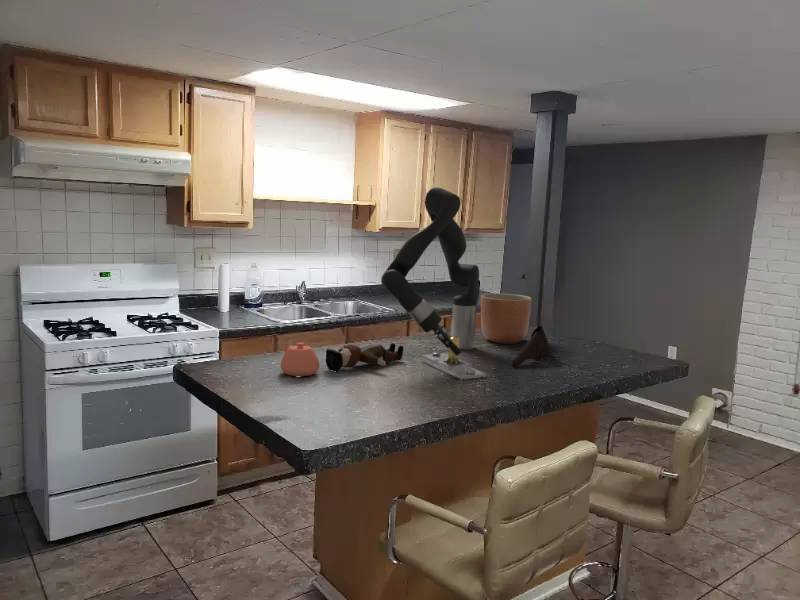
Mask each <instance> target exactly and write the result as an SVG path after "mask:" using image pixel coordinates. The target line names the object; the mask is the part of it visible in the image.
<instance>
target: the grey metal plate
mask: <svg viewBox="0 0 800 600" xmlns="http://www.w3.org/2000/svg"><path fill="white" fill-rule="evenodd" d="M421 363H423V364H426V365H427V366H431V367H432V368H435V369H437V370H439V371H441V372H444V373H446V374H448V375H450V376H452V377H454V378H456V377H457V379H459V380H461V381H463V379H464V380H471V379H472V378H473V379H480V378H481V377H483V378H486V377H487V373H485V372H484V371H480V370H478V369H476V368H474V367H473V364H472V363H470V362H468V361H465V360H463V359H460V358H459V363H458V364H452V365H450V364H447V352H443V353H441V352H438V351H433V352H432V353H429V354H422V355H421Z"/></svg>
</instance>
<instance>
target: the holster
mask: <svg viewBox="0 0 800 600" xmlns="http://www.w3.org/2000/svg"><path fill="white" fill-rule="evenodd" d="M550 356H551V357H552V356H553V351H552V348H551V345H550V342H549V341H548V338H547V336H546V333H545V330H544V327H543V326H542V325H539V326H537V327H536V328H535V329H534V330H533V331H532V333H531V335H530V339H529V340H528V341H527V343H525V344H524V345H523V346H522V348H521V349H520V350H519V351H518V353H517V354H516V357H514V359H513V360H512V362H511V365H512V367H513V368H515V367H517V368H518V367H519V366H520V365H521V364H522V363H524V362H525V361H527V360H535V361H540V360H542V359H543V358H544V357H549V358H551V357H550ZM542 357H543V358H542ZM537 359H538V360H537Z"/></svg>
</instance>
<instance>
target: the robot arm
mask: <svg viewBox="0 0 800 600" xmlns="http://www.w3.org/2000/svg"><path fill="white" fill-rule="evenodd" d="M424 198H425V199H424V206H425V210H426V212H427V214H428V216H429V218H430V219H431V221H432V222H431V223H430V224H429V225H427V226H426V227H424V228H423V229H421V230H419V231H418V232H416V233H414V234H412V235H411V236H410V237H409V238H407V240H406V241H405V242H404V243H403V245H402V246H401V248H400V249H399V251H398V253H397V255H396V256H395V258H394V260H393V261H392V262H391V263H390V264H389V266H388V267H387V268H386V270H385V271H384V273H383V274H382V276H381V278H380V283H381V285H382V287H383V288H384V289H385V290H387V291H388V292H389V293H391V294H392V295H393V297H394V298H395V299H396V300H398V303H399V305H401V307H402V308H403V309H404V310H405V311H406V312H407V313H408V314H409V316H410V317H411V319H412V320H413V321H414V322H415V323H416V324H417V325H418V326H419V327H420V328H421V330H423V331H424V333H426V334H428V333H430V332H431V331H433V332H434V333H433V335H434V337H435V338H436V339H438V340H439V341H440V343H442V344H443V345H444V346H445V348H446V349H447V348H450V349H451V350H452V351H453V353H454V354H455V355H456V356H458V355H459V356H460V354H461V353H462V350H473V349H475V339H476V320H477V318H476V317H477V300H478V291H479V290H478V289H479V282H480V281H479V280H480V269H479V267H478V265H477V264H473V263H471V264H470V263H469V264H468V263H460V262H459V261H460V259H461V258H462V257H463V256H464V254H465V252H466V249H467V241H466V238H465V234H464V231H463V230H462V228H461V227H460V226H459V224H458V223H457V222H456V221H455V219H454V218H455V217H456V215H457V214H458V213H459V211H460V208H461V198H460V197H459V196H458V195H457V194H455V193H453V192H451V191H449V190H446V189H444V188H442V187H437V186H436V187H431V188H430V189H429V190H428V191H427V193H426V194H425V197H424ZM436 238H438V241H439V244H440V247H441V249H442V253H443V255H444V258H445V261H446V266H447V269H448V274H449V278H450V283H451V284H452V285H453V286H454V287H457V288H466V289H467V291H466V292H464V293H463V294H459V295H455V296H454V297H453V300H452V317H451V322H450V333H449V331H448V330H446V327H445V326H444V325H440V323H441V321H442V319H443V317H442V316H441V315H440V314H439V313H438V312H437V310H435V309H434V308H433V306H432V305H431V304H430V303H429V302H428V301H426V300H425V298H423V297H422V296H421V295H420V293H419V292H418V291H417V290H416V289H414V288H413V286H412V285H411V284H410V282H409V281H408V280H407V278H406V277H407V276H408V274H409V272H410V271H411V270H412V269H413V268H414V267H415V265H416V264H417V263H418V261H419V260H420V258H421V257H422V255H423V253H424V252H425V251H426V250H427V248H428V247H429V246H430V245H431V243H432V242H433V241H434V240H435V239H436ZM451 337H459V338H460V344H459V348H458V347H457V346H456V345H455V344H454V342H453V341H452V340H451V339H450V338H451ZM448 341H449V343H448Z"/></svg>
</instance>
